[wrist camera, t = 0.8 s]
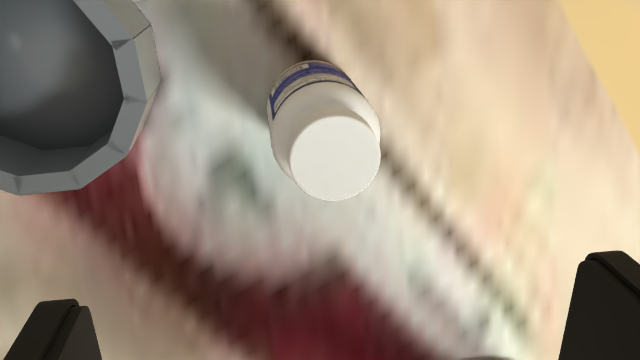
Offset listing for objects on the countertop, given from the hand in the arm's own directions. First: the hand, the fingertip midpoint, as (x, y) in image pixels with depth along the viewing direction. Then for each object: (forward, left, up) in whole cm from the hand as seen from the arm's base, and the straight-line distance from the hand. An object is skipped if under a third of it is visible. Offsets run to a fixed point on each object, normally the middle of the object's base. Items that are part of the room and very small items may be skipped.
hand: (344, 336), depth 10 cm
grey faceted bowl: (+8, +9, -21) cm, 25 cm away
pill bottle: (-2, -1, -22) cm, 22 cm away
